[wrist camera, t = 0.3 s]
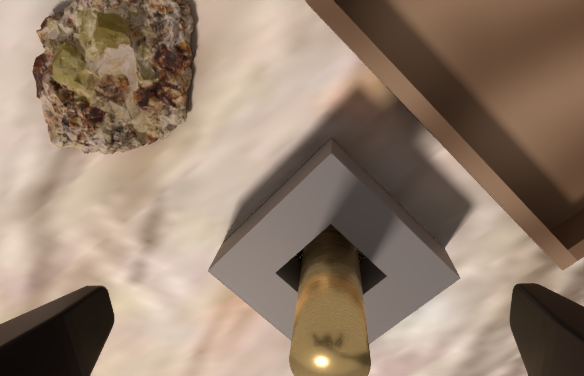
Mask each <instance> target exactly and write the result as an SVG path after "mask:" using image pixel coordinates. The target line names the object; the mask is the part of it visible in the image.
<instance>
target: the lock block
mask: <svg viewBox="0 0 584 376" xmlns="http://www.w3.org/2000/svg"><path fill="white" fill-rule="evenodd" d="M330 224H331V225H333V226H334V227H335V228H336V229H337V230H338V231H339V232H340V233H341V234H342V235H343V236H344V237H345V238H347V239H348V240H349V241H350V242H351V243H352V244H353V245H354V246H355V247H356V248H357V249H358V250H360V251H361V252H362V253H363V254H364V255H365V256H366V257H367V259H365V260H364V261H363V262H362V263H361V264H359V266H360V274H361V283H362V291H363V300H364V308H365V317H366V325H367V334H368V342H369V344H370V343H371V342H373V341H374V340H376V339H377V338H378V337H380V336H381V335H382V334H384V333H385V332H387V331H388V330H389V329H391V328H392V327H394V326H395V325H396V324H398V323H399V322H400V321H402V320H403V319H405V318H406V317H407V316H409V315H410V314H412V313H413V312H414V311H416V310H417V309H418V308H420V307H421V306H423V305H424V304H425V303H427V302H428V301H430V300H431V299H432V298H434V297H435V296H436V295H438V294H439V293H441V292H442V291H443V290H445V289H446V288H448V287H449V286H450V285H452V284H453V283H455V282H456V281H457V280H459V279H460V277H459V275H458V273H457V271H456V269H455V267H454V265H453V263H452V261H451V259H450V258H449V256H448V254H447V252H446V250H445V248H444V247H443V246H442V245H441V244H440V243H439V242H438V241H436V240H435V239H434V238H433V237H432V236H431V235H430V234H429V233H428V232H427V231H426V230H425V229H424V228H423V227H422V226H421V225H420V224H419V223H418V222H417V221H416V220H415V219H414V218H413V217H412V216H411V215H410V214H409V213H408V212H407V211H406V210H405V209H404V208H403V207H402V206H401V205H400V204H399V203H398V202H397V201H396V200H395V199H394V198H393V197H392V196H391V195H390V194H389V193H388V192H386V191H385V190H384V189H383V188H382V187H381V186H380V185H379V184H378V183H377V182H376V181H375V180H374V179H373V178H372V177H371V176H370V175H369V174H368V173H367V172H366V171H365V170H364V169H363V168H362V167H361V166H360V165H359V164H358V163H357V162H356V161H355V160H354V159H353V158H352V157H351V156H350V155H349V154H348V153H347V152H346V151H345V150H344V149H343V148H342V147H341V146H340V145H339V144H338V143H337V142H335V141H334V140H333V139H332V138H331V139H330V140H329V141H328V142H327V143H325V144H324V145H323V146H322V147H321V148H320V149H319V150H318V151H317V152H316V153H315V154H314V155H313V156H312V157H311V158H310V159H309V160H308V161H307V162H306V163H305V164H304V165H303V166H302V167H301V168H300V169H299V170H298V171H297V172H296V173H295V174H294V175H293V176H292V177H291V178H289V179H288V180H287V181H286V182H285V183H284V184H283V185H282V186H281V187H280V188H279V189H278V190H277V191H276V192H275V193H274V194H273V195H272V196H271V197H270V198H269V199H268V200H267V201H266V202H265V203H264V204H263V205H262V206H261V207H260V208H259V209H258V210H257V211H256V212H254V213H253V214H252V215H251V216H250V217H249V218H248V219H247V220H246V221H245V222H244V223H243V224H242V225H241V226H240V227H239V228H238V229H237V230H236V231H235V232H234V233H233V234H232V235H231V236H230V237H229V238H228V239H227V240H226V241H225V242H224V243H223V244H222V245H221V247H220V249H219V251H218V253H217V255H216V257H215V258H214V260H213V262H212V264H211V266H210V268H209V270H208V272H210V273H211V274H212V275H213V276H214V277H216V278H217V279H218V280H219V281H220V282H222V283H223V284H224V285H225V286H226V287H228V288H229V289H230V290H231V291H232V292H234V293H235V294H236V295H237V296H238V297H240V298H241V299H242V300H243V301H244V302H246V303H247V304H248V305H249V306H250V307H252V308H253V309H254V310H255V311H256V312H258V313H259V314H260V315H261V316H262V317H263V318H265V319H266V320H267V321H268V322H269V323H271V324H272V325H273V326H274V327H275V328H277V329H278V330H279V331H280V332H281V333H283V334H284V335H285V336H286V337H287V338H289V339H290V340H291V341H292V335H293V327H294V320H295V312H296V305H297V297H298V290H299V282H300V275H301V267H302V262H300V261H299V260H298V259H297V258H296V257H295V255H296V254H297V253H298V252H299V251H301V250H302V249H303V248H304V247H305V246H306V245H307V244H309V243H310V242H311V241H312V240H313V239H314V238H315V237H316V236H318V235H319V234H320V233H321V232H322V231H323V230H324V229H326V228H327V227H328V226H329V225H330Z"/></svg>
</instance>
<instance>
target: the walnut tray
mask: <svg viewBox="0 0 584 376" xmlns="http://www.w3.org/2000/svg"><path fill="white" fill-rule="evenodd" d="M305 1H306V2H307V4H308V5H309V6H310V7H311V8H312V9H313V10H314V11H315V12H316V13H317V14H318V15H319V17H320V18H321V19H322V20H323V21H324V22H325V23H326V24H327V25H328V26H329V27H330V28H331V29H332V30H333V31H334V32H335V33H336V34H337V35H338V36H339V37H340V38H341V40H342V41H343V42H344V43H345V44H346V45H347V46H348V47H349V48H350V49H351V50H352V51H353V52H354V53H355V54H356V55H357V56H358V57H359V58H360V59H361V60H362V62H363V63H364V64H365V65H366V66H367V67H368V68H369V69H370V70H371V71H372V72H373V73H374V74H375V75H376V76H377V77H378V78H379V79H380V80H381V81H382V82H383V84H384V85H385V86H386V87H387V88H388V89H389V90H390V91H391V92H392V93H393V94H394V95H395V96H396V97H397V98H398V99H399V100H400V101H401V102H402V103H403V104H404V105H405V107H406V108H407V109H408V110H409V111H410V112H411V113H412V114H413V115H414V116H415V117H416V118H417V119H418V120H419V121H420V122H421V123H422V124H423V125H424V126H425V127H426V129H427V130H428V131H429V132H430V133H431V134H432V135H433V136H434V137H435V138H436V139H437V140H438V141H439V142H440V143H441V144H442V145H443V146H444V147H445V148H446V149H447V151H448V152H449V153H450V154H451V155H452V156H453V157H454V158H455V159H456V160H457V161H458V162H459V163H460V164H461V165H462V166H463V167H464V168H465V169H466V170H467V171H468V173H469V174H470V175H471V176H472V177H473V178H474V179H475V180H476V181H477V182H478V183H479V184H480V185H481V186H482V187H483V188H484V189H485V190H486V191H487V192H488V193H489V194H490V196H491V197H492V198H493V199H494V200H495V201H496V202H497V203H498V204H499V205H500V206H501V207H502V208H503V209H504V210H505V211H506V212H507V213H508V214H509V215H510V216H511V218H512V219H513V220H514V221H515V222H516V223H517V224H518V225H519V226H520V227H521V228H522V229H523V230H524V231H525V232H526V233H527V234H528V235H529V236H530V237H531V238H532V240H533V241H534V242H535V243H536V244H537V245H538V246H539V247H540V248H541V249H542V250H543V251H544V252H545V253H546V254H547V255H548V256H549V257H550V258H551V259H552V260H553V261H554V262H555V263H556V264H557V265H558V266H559V267H560V268H561V269H562V270H564V269H566V268H567V267H569V266H570V265H572V264H573V263H575V262H576V261H578V260H580V259H581V258H583V257H584V0H305Z"/></svg>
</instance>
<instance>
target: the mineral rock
mask: <svg viewBox="0 0 584 376" xmlns="http://www.w3.org/2000/svg"><path fill="white" fill-rule="evenodd" d="M190 10H191V8H190V7H189V6H188V5H187V4H186V2H185V1H184V0H73V1H72V2H71V4H70V5H69V6H68V7H66V8H65V9H64V14H63V13H61V12H59V13H58V14H57V15H56V16H49V17H47V18H45V20H44V21H43V23H42V24H41V29H40V30H37V34H38V36H39V38H40V40H41V42H42V44H43V47H44V48H45V49H46V51H45V52H44V53H43V54H41V55H40V56H38V57H36V59H35V63H34V68H33V71H32V72H33V75H34V78H35V81H36V86H37V97H38V98H39V99H41V101H42V108H43V113H44V117H45V121H46V123H47V124H48V133H49V136H50V139H51V142H52V143H54V144H55V145H56V146H59V147H65V148H78V149H81V150H82V151H83V152H84V153H89V152H96V151H99V152H101V153H102V154H108V153H112V154H113V153H115V152H116V151H120V152H125V151H129V150H132V149H133V148H138V147H139V146H147V145H149V144H151V143H153V142H155V141H156V140H157V139H158V138H159V137H160V138H161V139H165V138H167V137H168V136H169V135H170V133H171V131H173V130H174V129H175V128H176V126H177V125H179V124H181V123H182V122H185V121H186V118H187V113H186V104H187V100H188V96H187V89H188V88H189V87H190V81H191V79H192V70H191V68H190V66H191V62H192V61H193V60H194V58H193V56H192V51H191V48H190V41H191V35H190V34H191V33H192V31H193V29H194V22H193V21H194V20H193V18H192V15H191V12H190Z"/></svg>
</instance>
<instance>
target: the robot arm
mask: <svg viewBox="0 0 584 376" xmlns="http://www.w3.org/2000/svg"><path fill="white" fill-rule="evenodd" d="M113 324H114V312H113V309H112V305H111V301H110V297H109V293H108V290H107V289H106V288H105V287H104V286H86V287H83V288H81V289H79V290H76V291H74V292H72V293H70V294H67V295H65V296H63V297H61V298H58V299H56V300H54V301H52V302H49V303H47V304H45V305H43V306H40V307H38V308H36V309H34V310H31V311H29V312H27V313H25V314H22V315H20V316H18V317H16V318H13V319H11V320H9V321H6V322H4V323H2V324H0V376H90V375H91V373H92V370H93V368H94V366H95V364H96V362H97V360H98V357H99V355H100V353H101V351H102V349H103V347H104V344H105V342H106V340H107V338H108V336H109V334H110V332H111V329H112V327H113ZM510 326H511V330H512V333H513V335H514V338H515V341H516V344H517V346H518V349H519V352H520V354H521V357H522V360H523V362H524V365H525V368H526V370H527V373H528V376H584V307H583V306H581V305H579V304H577V303H575V302H573V301H571V300H569V299H567V298H565V297H563V296H561V295H559V294H557V293H555V292H553V291H551V290H549V289H547V288H545V287H543V286H541V285H539V284H535V283H523V284H516V285H515V286H514V288H513V293H512V301H511V310H510Z"/></svg>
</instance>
